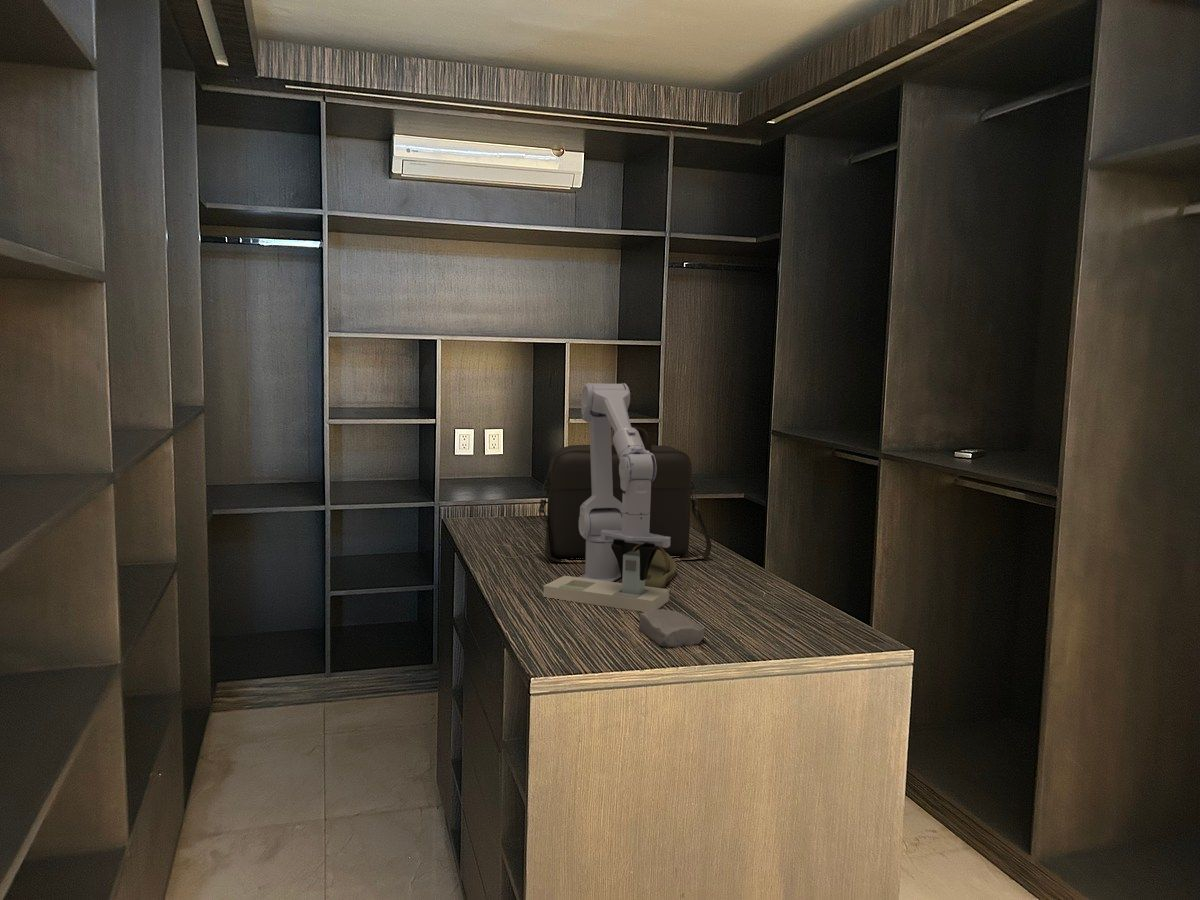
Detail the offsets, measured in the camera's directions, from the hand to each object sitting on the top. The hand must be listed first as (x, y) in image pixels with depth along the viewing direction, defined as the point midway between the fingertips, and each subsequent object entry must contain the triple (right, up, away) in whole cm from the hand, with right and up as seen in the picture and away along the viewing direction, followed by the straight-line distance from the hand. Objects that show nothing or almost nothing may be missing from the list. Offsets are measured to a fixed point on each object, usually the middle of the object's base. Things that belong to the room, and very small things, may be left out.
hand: (633, 578), depth 191 cm
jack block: (-6, -5, +3) cm, 8 cm away
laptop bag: (-1, -1, +43) cm, 43 cm away
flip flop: (+4, -4, +21) cm, 22 cm away
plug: (0, -4, 0) cm, 4 cm away
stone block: (+7, -8, -21) cm, 23 cm away
